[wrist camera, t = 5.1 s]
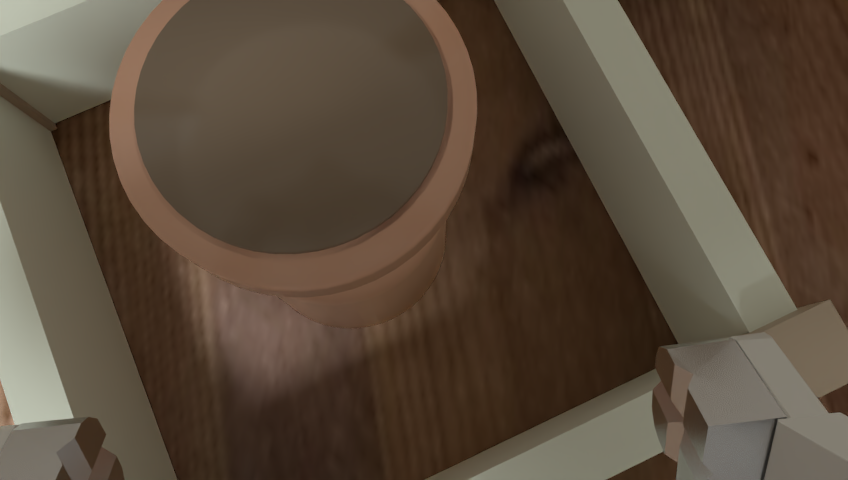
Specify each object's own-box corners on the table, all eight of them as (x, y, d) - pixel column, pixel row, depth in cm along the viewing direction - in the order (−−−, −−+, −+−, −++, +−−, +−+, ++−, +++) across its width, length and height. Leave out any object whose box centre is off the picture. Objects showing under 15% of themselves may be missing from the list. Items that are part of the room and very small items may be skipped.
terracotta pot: (496, 284, 20) (544, 180, 12) (296, 380, 20) (183, 350, 11) (403, 102, 22) (382, -116, 13) (214, 188, 21) (53, 22, 12)
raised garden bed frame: (754, 380, 20) (872, 371, 14) (182, 658, 18) (79, 763, 13) (487, -101, 23) (503, -252, 18) (-9, 105, 22) (-153, 8, 17)
